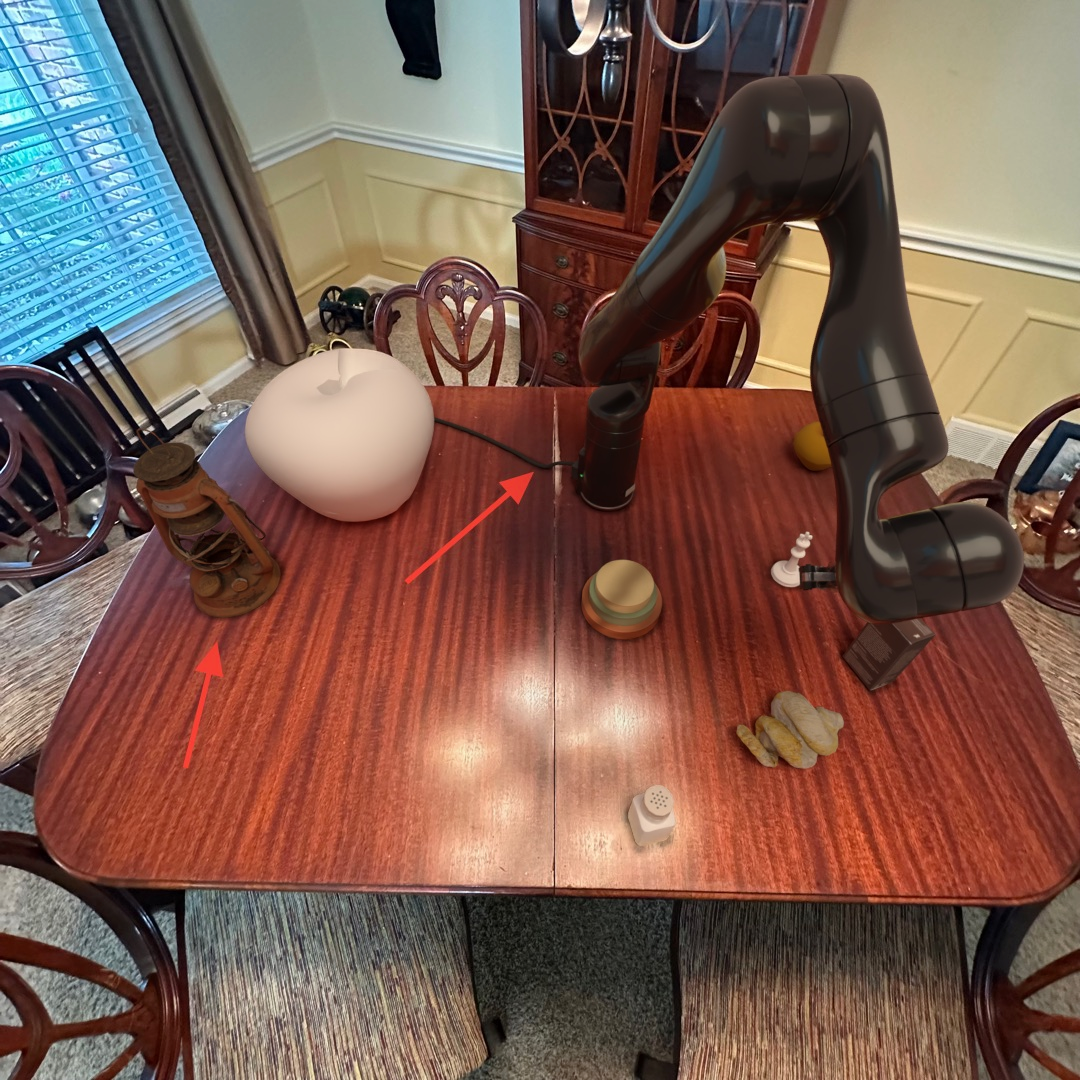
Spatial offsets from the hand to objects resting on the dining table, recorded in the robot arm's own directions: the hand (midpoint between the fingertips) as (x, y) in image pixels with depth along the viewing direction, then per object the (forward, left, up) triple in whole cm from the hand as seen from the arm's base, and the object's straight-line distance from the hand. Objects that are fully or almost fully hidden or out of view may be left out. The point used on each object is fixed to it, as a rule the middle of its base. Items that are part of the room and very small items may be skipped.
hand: (864, 578), depth 70 cm
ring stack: (-27, -6, -20) cm, 34 cm away
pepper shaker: (-9, -32, -20) cm, 39 cm away
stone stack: (+1, -12, -20) cm, 23 cm away
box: (+7, +4, -20) cm, 21 cm away
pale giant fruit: (-76, -11, -20) cm, 79 cm away
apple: (-13, +42, -20) cm, 48 cm away
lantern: (-79, -36, -20) cm, 89 cm away
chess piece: (-8, +14, -20) cm, 25 cm away
